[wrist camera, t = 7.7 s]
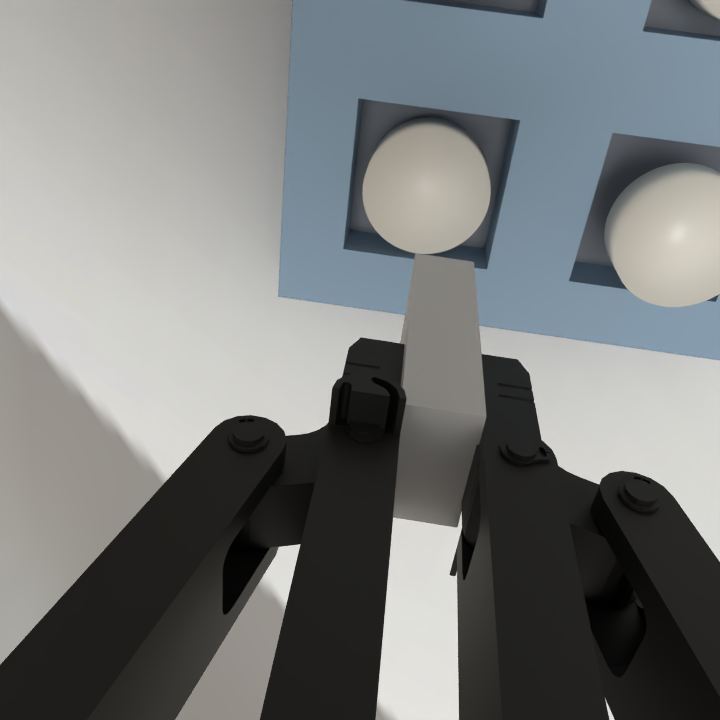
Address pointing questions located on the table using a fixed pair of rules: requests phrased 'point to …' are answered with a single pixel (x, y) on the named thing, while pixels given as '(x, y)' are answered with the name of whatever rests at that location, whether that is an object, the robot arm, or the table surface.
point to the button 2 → (668, 235)
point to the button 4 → (708, 7)
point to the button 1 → (426, 186)
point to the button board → (501, 150)
